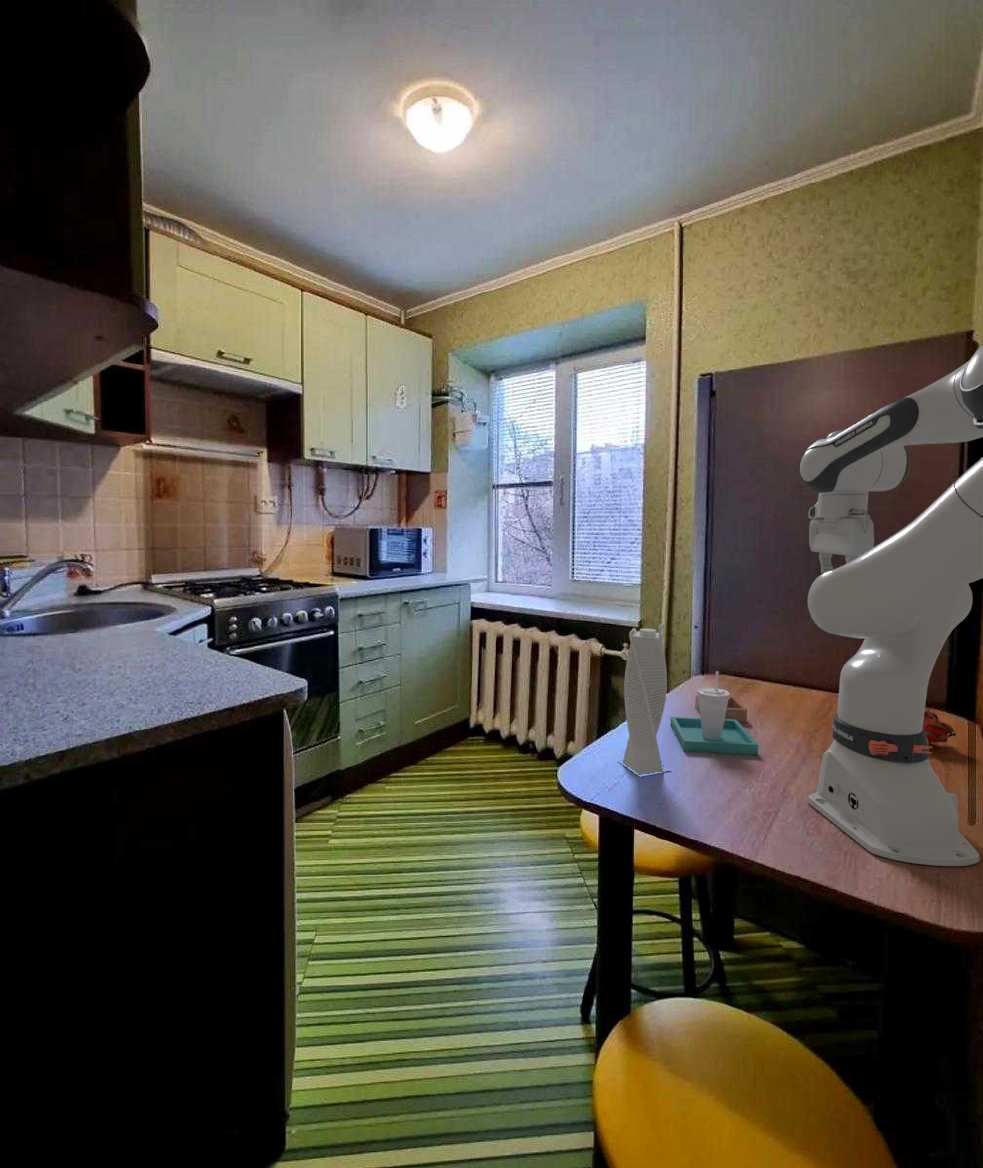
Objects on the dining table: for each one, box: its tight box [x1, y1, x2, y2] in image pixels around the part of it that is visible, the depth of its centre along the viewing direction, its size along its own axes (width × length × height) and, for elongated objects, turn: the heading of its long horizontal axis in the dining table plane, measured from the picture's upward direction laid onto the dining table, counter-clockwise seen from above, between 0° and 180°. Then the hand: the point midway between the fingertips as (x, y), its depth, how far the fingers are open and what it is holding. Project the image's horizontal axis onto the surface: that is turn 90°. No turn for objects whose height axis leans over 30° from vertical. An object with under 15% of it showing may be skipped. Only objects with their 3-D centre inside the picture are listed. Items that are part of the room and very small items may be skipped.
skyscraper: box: [622, 622, 668, 775], centre depth 102 cm, size 8×8×28 cm
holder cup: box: [694, 695, 748, 723], centre depth 132 cm, size 9×9×3 cm
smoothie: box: [696, 670, 731, 740], centre depth 116 cm, size 6×6×14 cm
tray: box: [670, 716, 759, 756], centre depth 117 cm, size 14×14×2 cm
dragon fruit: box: [923, 708, 957, 749], centre depth 115 cm, size 8×8×12 cm
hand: (837, 575), depth 118 cm, fingers open, 8 cm apart
